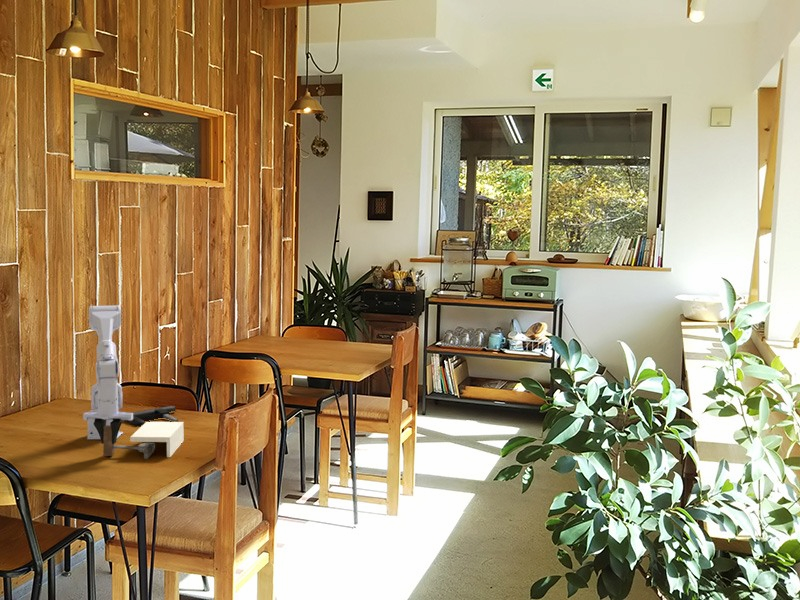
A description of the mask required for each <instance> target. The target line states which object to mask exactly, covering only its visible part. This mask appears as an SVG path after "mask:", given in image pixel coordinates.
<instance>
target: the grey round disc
mask: <svg viewBox="0 0 800 600" xmlns="http://www.w3.org/2000/svg"><path fill="white" fill-rule="evenodd" d="M149 444H150V445H153V452H155V451H156V443H155V442H141V443H140V444H138V445H137V446H142V447H147V446H148V445H149ZM138 452H139V453H141V452H143V454H144V450H140V449H138Z"/></svg>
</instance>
